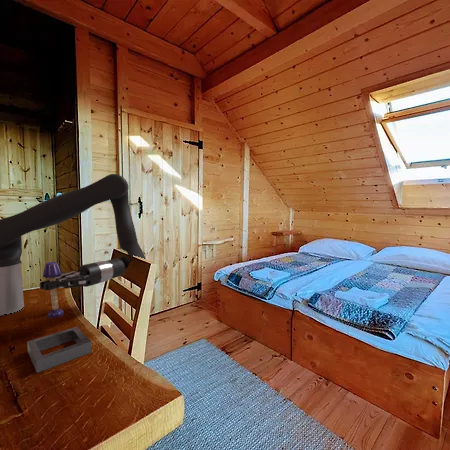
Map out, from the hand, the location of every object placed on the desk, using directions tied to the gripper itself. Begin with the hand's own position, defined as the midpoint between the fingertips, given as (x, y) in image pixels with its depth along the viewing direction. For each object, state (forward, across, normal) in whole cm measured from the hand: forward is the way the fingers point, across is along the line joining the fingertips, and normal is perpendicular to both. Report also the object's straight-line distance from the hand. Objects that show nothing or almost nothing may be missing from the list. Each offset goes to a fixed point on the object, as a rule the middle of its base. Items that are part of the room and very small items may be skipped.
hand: (42, 286), depth 80 cm
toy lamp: (-3, 0, +10) cm, 11 cm away
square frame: (+4, +15, +14) cm, 21 cm away
